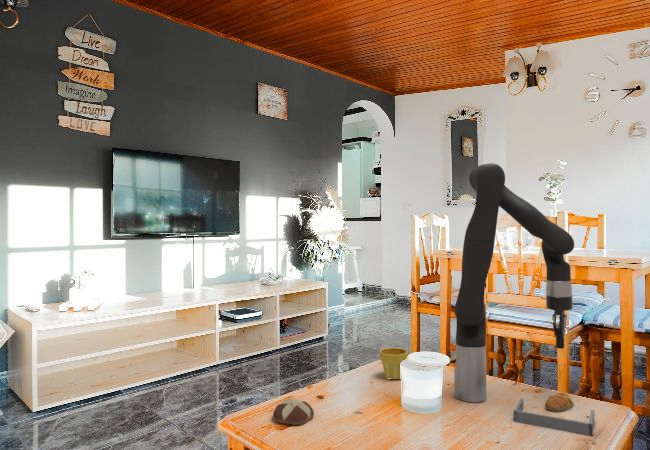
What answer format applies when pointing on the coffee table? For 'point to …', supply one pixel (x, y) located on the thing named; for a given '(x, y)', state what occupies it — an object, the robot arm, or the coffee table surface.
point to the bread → (293, 412)
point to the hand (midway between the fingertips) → (560, 347)
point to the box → (553, 421)
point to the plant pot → (392, 361)
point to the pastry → (559, 402)
